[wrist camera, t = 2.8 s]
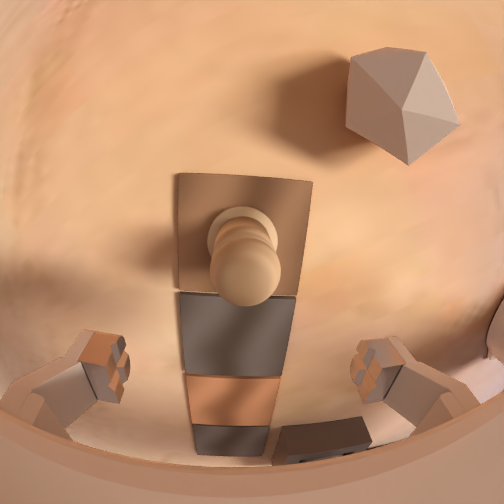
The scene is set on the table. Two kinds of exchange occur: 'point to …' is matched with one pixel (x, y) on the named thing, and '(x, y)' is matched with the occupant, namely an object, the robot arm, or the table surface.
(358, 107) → the die
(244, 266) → the tan rounded peg
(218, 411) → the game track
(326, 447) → the housing
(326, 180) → the table surface
